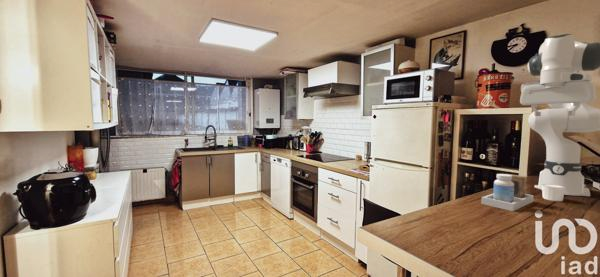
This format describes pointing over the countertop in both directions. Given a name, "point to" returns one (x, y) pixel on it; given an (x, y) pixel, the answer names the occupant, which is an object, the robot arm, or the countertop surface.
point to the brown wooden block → (519, 185)
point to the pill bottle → (504, 188)
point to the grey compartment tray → (506, 205)
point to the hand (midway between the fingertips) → (553, 116)
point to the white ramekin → (553, 192)
